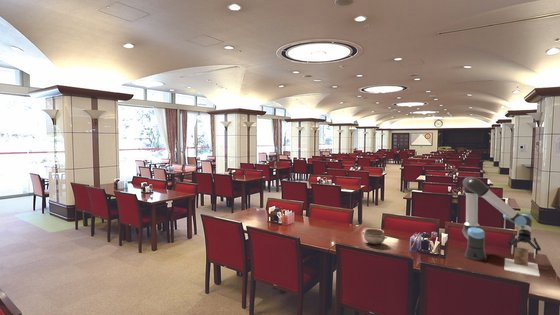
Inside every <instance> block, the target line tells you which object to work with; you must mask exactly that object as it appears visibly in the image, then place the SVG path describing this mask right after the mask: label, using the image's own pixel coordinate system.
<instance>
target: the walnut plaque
mask: <svg viewBox="0 0 560 315" xmlns="http://www.w3.org/2000/svg"><path fill="white" fill-rule="evenodd" d="M513 254H514V255H513V256H514V258H513V260H514V264H519V265H524V266H528V262H529V249H528V248H523V247H517V246H515V247H514V252H513Z"/></svg>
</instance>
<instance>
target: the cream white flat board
mask: <svg viewBox="0 0 560 315" xmlns="http://www.w3.org/2000/svg"><path fill="white" fill-rule="evenodd" d="M503 268H504V270H503V271H506V272H512V273H516V274H521V275H525V276H526V275H527V276H532V277H537V278H540V277H541V276H540V271H539V270H540V269H539V266H538V263H534V262H529V261H528V266H524V265H519V264H514V259H511V258H504V266H503Z"/></svg>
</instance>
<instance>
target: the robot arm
mask: <svg viewBox="0 0 560 315" xmlns="http://www.w3.org/2000/svg"><path fill="white" fill-rule="evenodd" d="M462 186H463V193H464V194H465V222H464V223H463V228H462V230H461V232H462V234H463V236H464V237H465V238H466V240H467V247H466V249H465V252H464V257H465V258H467V259H469V260H473V261H477V262H478V261H479V262H480V261H482V262H485V261H486V260H487V257H488V256H487V254H486V250H485V236H486V232H485V230H484V229H482V228H480V226H481V225H480V224H479V223H478V222H479V221H478V215H479V214H478V212H479V208H478V207H479V206H478V204H479V203H478V202H479V197H480V198H482V199H484V200H485V201H487V202H488V203H489V204H490V205H492V207H494V208H495V209H496V210H498V211H499V212H500V213H502V214H503V215H502V216H503V217H502V218H504V219H505V220H507V221H509V222H511V223H513V224H515V225H516V226H519V229H518V230H519V231H518V235H516V234H513V236H512V238H510V240H509V241H508V242H507V246H509V250H511V251H510V253H511V255H513V254H514V246H515V245H517V244H519V243H520V242H521V243H525V244H529V245H530V246H531V248H533V259H536V255H538V251H539V252H540V251H541V250H542V249H541V247H540V245H539V244H538V242H537V240H536V237H532V223H533V218H532V216H531V215H530V214H526V213H522V214H520V213H518V212H517V211H516V210H515V209H514V208H512V207H511V206H510V205H508V204H507V203H506V202H505V201H504V200H502V199H501V198H500V197H499V196H497V195H496V194H495V193H494V192H492V191H491V190H490V187H488V186H487V185H486V184H485V183H484V182H483V181H482V180H481V179H479V178H477V177H474V176H468V177H465V178H464V179H463V181H462ZM516 239H517V240H516Z"/></svg>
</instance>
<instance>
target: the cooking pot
mask: <svg viewBox="0 0 560 315" xmlns="http://www.w3.org/2000/svg"><path fill="white" fill-rule="evenodd" d="M361 234H362V235H363V238H364V240H365V241H366V242H367V243H369V244H370V245H373V246H378V245H380V244H382V243H384V241H385V239H388V237H387V236H386V235H385V231H384V230H382V229H380V228H366V229H364V231H362V232H361Z"/></svg>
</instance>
